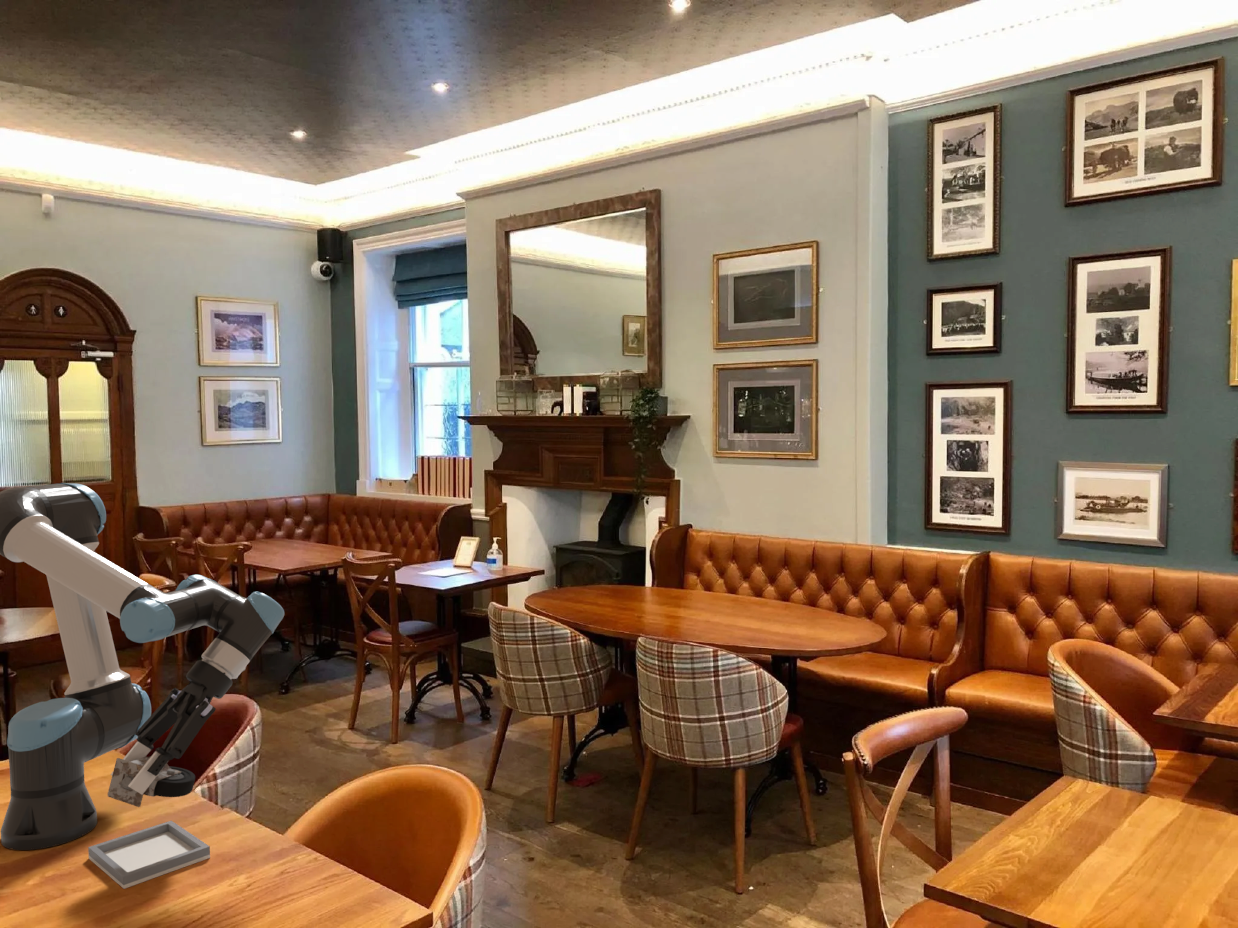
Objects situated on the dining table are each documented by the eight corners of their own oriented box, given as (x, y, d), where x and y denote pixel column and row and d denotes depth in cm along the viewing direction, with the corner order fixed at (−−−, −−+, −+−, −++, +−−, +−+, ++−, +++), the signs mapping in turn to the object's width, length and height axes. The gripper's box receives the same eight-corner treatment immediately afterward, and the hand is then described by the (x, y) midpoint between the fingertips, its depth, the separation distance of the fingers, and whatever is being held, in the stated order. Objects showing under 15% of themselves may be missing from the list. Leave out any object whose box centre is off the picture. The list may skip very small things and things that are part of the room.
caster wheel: (199, 800, 164) (160, 816, 154) (145, 782, 166) (104, 796, 157) (208, 763, 164) (170, 776, 154) (155, 746, 167) (114, 757, 157)
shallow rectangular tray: (88, 858, 160) (88, 846, 160) (171, 830, 171) (171, 820, 170) (123, 888, 149) (123, 876, 149) (210, 857, 160) (209, 846, 160)
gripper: (257, 690, 163) (167, 810, 152) (208, 671, 177) (121, 780, 166) (227, 667, 159) (131, 788, 148) (178, 649, 173) (87, 759, 161)
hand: (126, 784), depth 157 cm, fingers closed on caster wheel, 7 cm apart
